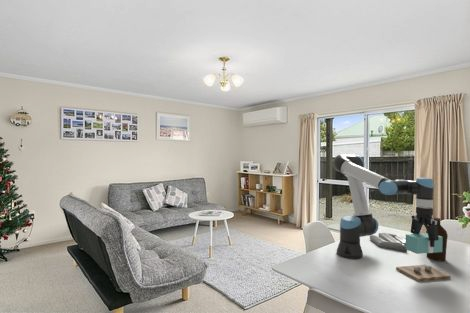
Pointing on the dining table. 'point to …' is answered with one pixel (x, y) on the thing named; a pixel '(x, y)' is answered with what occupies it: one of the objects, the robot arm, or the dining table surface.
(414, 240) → the teal rectangular block
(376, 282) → the dining table surface
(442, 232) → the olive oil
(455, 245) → the dining table surface
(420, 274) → the seat
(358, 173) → the robot arm
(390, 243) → the emblem
